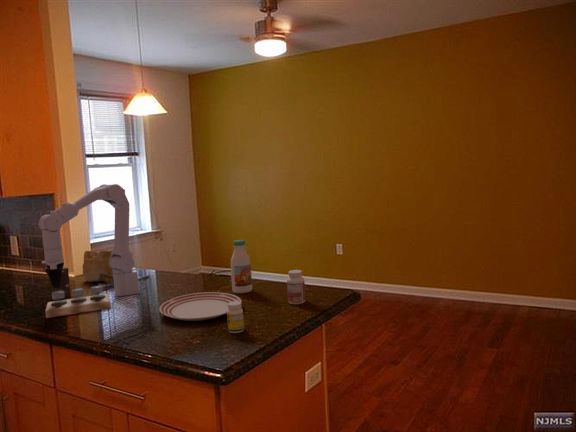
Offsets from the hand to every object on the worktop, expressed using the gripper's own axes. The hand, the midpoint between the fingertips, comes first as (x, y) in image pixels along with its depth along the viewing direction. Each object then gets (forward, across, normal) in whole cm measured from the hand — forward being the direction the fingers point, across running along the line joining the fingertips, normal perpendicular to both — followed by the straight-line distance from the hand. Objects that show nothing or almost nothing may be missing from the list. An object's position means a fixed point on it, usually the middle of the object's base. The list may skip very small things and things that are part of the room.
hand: (57, 285), depth 170 cm
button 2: (+5, 0, +13) cm, 14 cm away
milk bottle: (+10, +13, +65) cm, 67 cm away
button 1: (+5, 0, 0) cm, 5 cm away
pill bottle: (+10, +38, +77) cm, 86 cm away
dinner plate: (+10, +30, +45) cm, 55 cm away
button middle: (+5, 0, +7) cm, 8 cm away
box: (+10, -19, 0) cm, 21 cm away
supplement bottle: (+10, +54, +50) cm, 74 cm away
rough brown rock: (+10, -39, +19) cm, 44 cm away
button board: (+9, +1, +6) cm, 11 cm away
